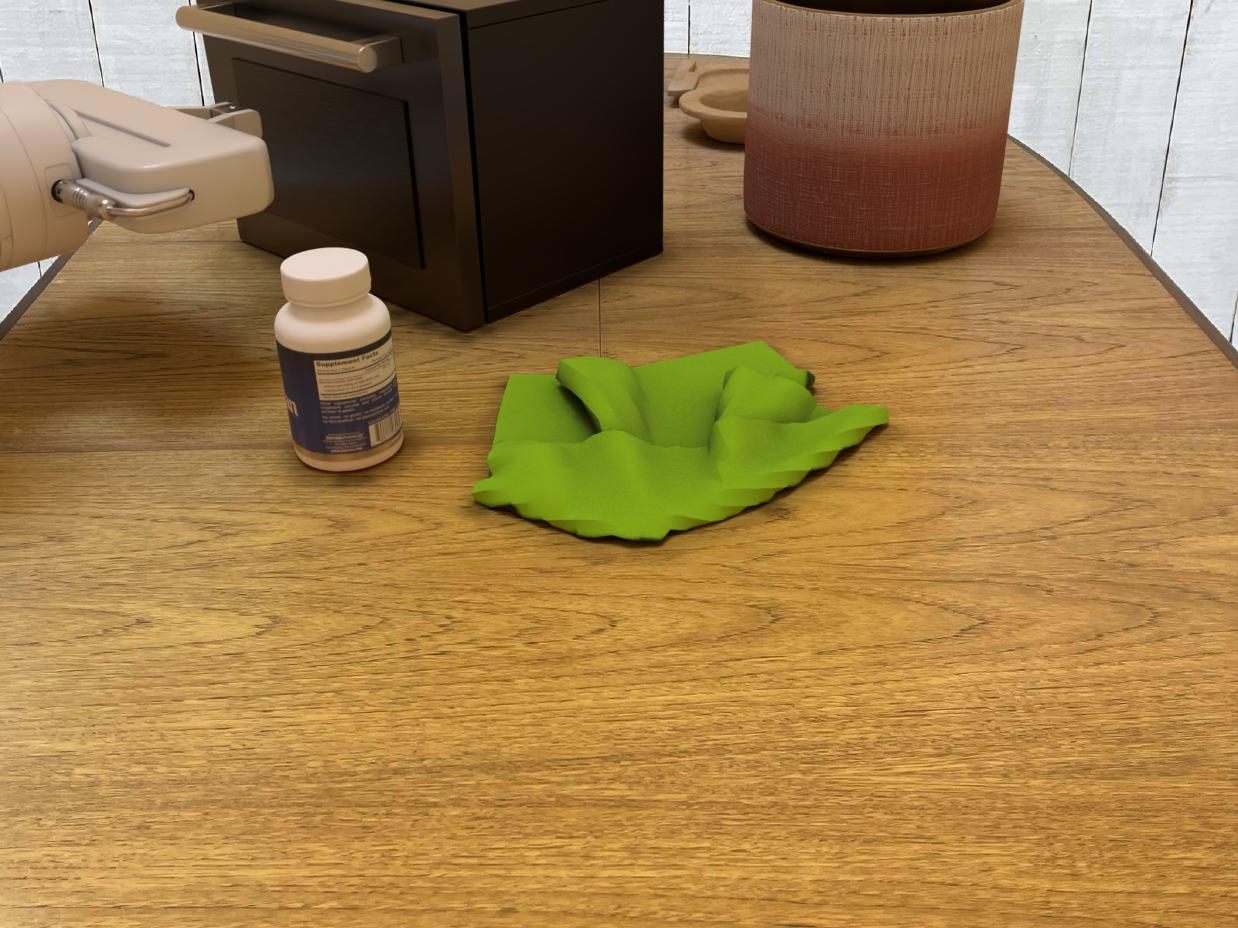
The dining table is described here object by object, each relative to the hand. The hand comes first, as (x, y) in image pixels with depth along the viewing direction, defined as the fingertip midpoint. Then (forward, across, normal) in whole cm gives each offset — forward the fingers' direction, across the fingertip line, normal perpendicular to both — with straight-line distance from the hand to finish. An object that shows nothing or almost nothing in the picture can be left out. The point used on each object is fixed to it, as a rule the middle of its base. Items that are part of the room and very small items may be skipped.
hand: (247, 120), depth 73 cm
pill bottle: (-8, -18, +12) cm, 23 cm away
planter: (+37, -20, +12) cm, 43 cm away
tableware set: (+49, +12, +12) cm, 52 cm away
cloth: (+4, -30, +12) cm, 32 cm away
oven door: (+4, 0, +11) cm, 12 cm away
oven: (+15, 0, +12) cm, 19 cm away
